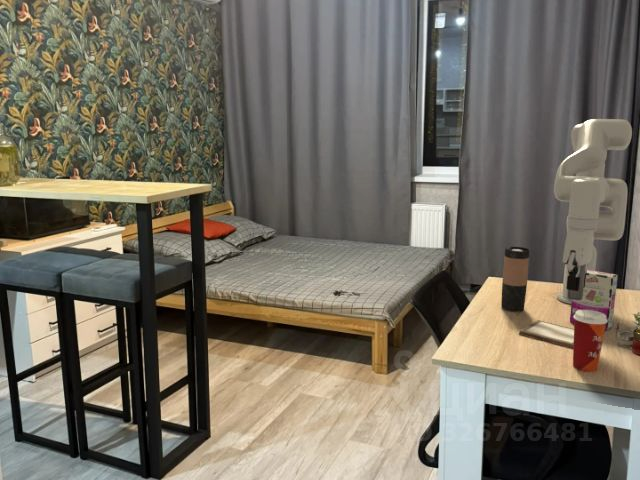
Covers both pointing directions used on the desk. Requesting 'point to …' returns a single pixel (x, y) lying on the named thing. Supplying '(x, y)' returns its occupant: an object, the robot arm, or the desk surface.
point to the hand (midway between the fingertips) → (575, 287)
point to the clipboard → (550, 333)
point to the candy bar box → (597, 295)
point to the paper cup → (588, 339)
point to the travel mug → (515, 278)
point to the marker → (579, 294)
